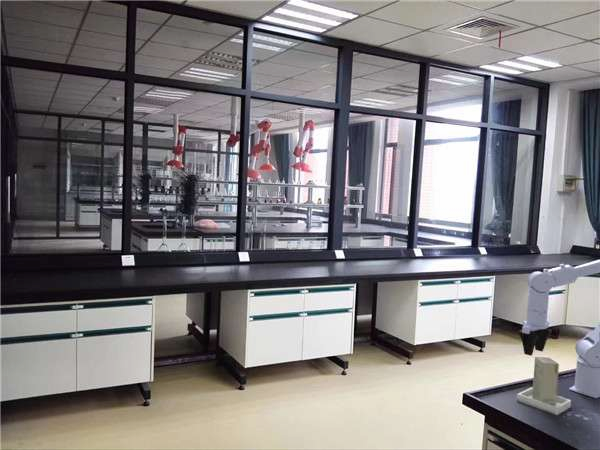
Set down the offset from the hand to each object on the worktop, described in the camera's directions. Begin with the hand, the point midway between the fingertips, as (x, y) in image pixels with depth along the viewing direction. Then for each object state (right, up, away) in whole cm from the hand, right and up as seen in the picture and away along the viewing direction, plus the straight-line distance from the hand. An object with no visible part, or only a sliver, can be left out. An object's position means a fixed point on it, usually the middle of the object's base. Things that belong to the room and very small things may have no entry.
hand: (533, 352), depth 156 cm
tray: (-4, -11, -14) cm, 18 cm away
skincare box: (-4, -11, -14) cm, 18 cm away
